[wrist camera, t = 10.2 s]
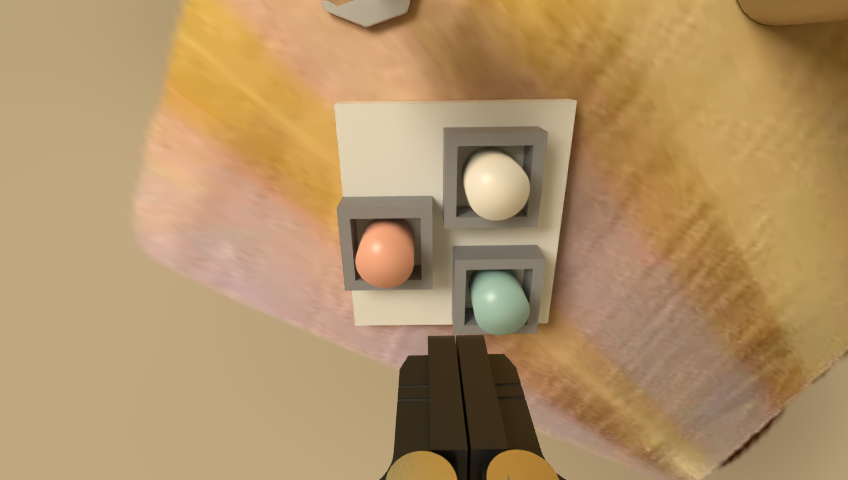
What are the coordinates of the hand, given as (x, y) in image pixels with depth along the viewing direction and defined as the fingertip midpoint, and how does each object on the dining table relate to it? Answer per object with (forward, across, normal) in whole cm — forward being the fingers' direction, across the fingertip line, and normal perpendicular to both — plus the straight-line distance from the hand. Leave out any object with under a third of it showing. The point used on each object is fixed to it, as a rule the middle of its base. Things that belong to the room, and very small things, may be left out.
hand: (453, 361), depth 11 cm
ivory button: (+26, -5, +2) cm, 27 cm away
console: (+29, -2, +7) cm, 30 cm away
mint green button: (+26, -6, +13) cm, 30 cm away
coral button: (+26, +4, +8) cm, 28 cm away
